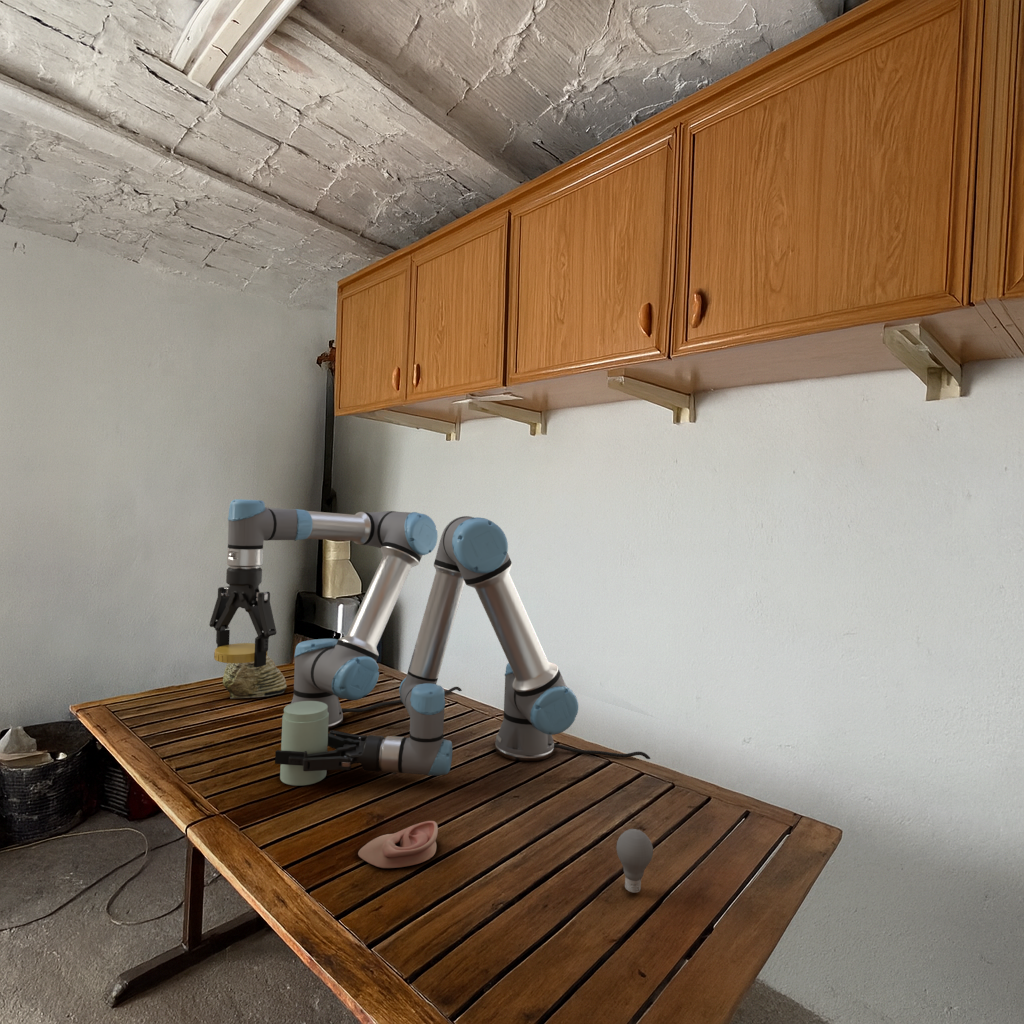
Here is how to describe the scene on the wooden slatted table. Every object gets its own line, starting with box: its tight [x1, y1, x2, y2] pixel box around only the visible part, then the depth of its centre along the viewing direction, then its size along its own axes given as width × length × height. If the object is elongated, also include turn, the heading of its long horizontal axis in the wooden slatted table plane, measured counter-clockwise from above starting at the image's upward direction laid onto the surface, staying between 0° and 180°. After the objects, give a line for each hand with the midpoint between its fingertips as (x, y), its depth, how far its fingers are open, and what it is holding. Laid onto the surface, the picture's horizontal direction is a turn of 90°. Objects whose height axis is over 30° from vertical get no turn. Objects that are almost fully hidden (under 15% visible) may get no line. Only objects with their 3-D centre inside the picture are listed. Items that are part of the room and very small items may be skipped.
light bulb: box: [615, 828, 654, 894], centre depth 106 cm, size 6×6×10 cm
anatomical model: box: [357, 820, 439, 869], centre depth 114 cm, size 13×4×12 cm
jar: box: [279, 701, 329, 786], centre depth 143 cm, size 10×10×16 cm
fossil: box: [222, 654, 288, 699], centre depth 198 cm, size 9×18×15 cm, turn 132°
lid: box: [213, 642, 268, 664], centre depth 145 cm, size 11×11×2 cm
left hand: (241, 662), depth 145 cm, fingers closed on lid, 11 cm apart
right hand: (286, 747), depth 143 cm, fingers closed on jar, 10 cm apart
